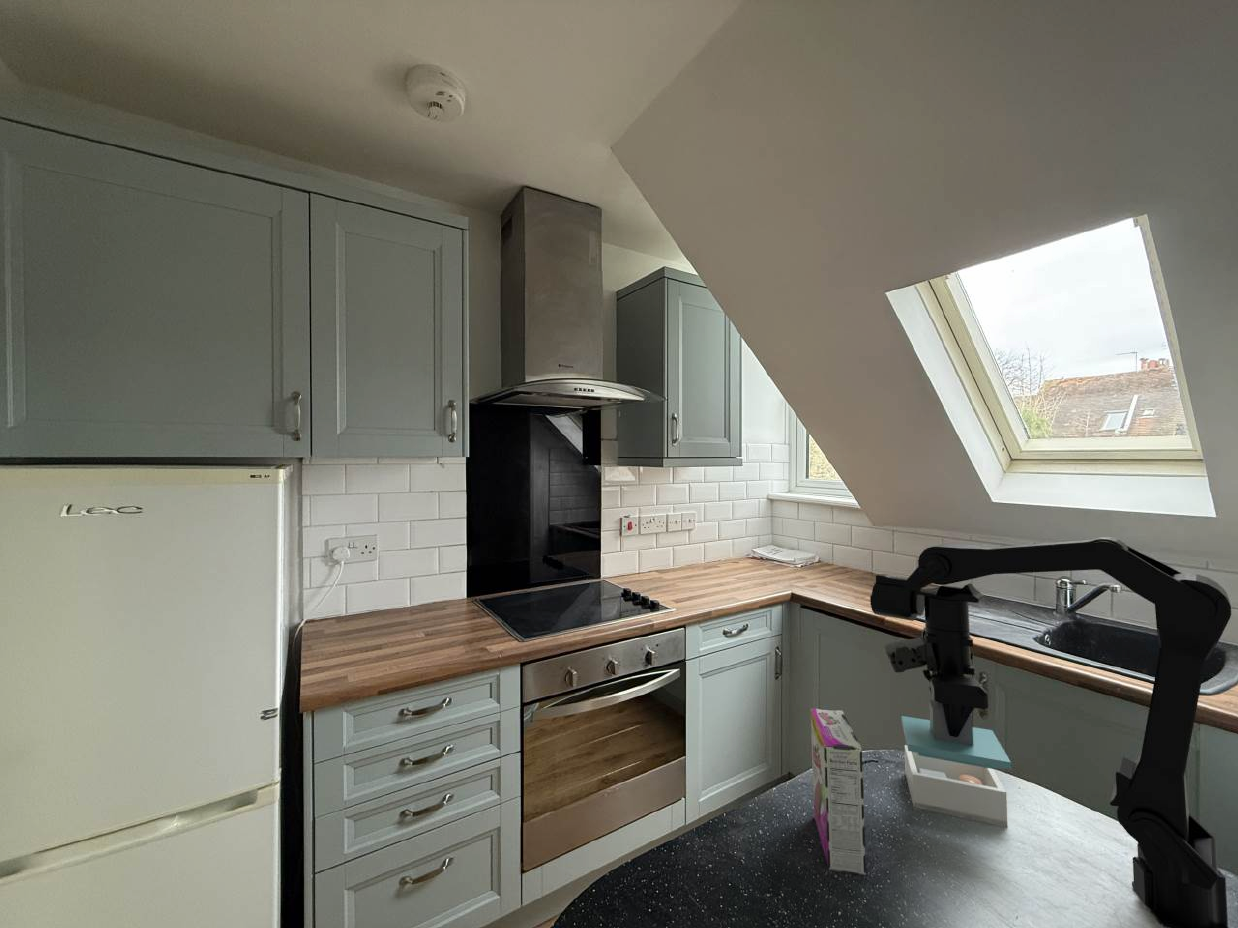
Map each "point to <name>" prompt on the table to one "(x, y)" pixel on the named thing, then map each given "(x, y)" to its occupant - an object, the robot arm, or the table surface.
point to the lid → (953, 741)
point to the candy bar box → (838, 791)
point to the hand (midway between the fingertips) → (951, 730)
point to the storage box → (955, 789)
